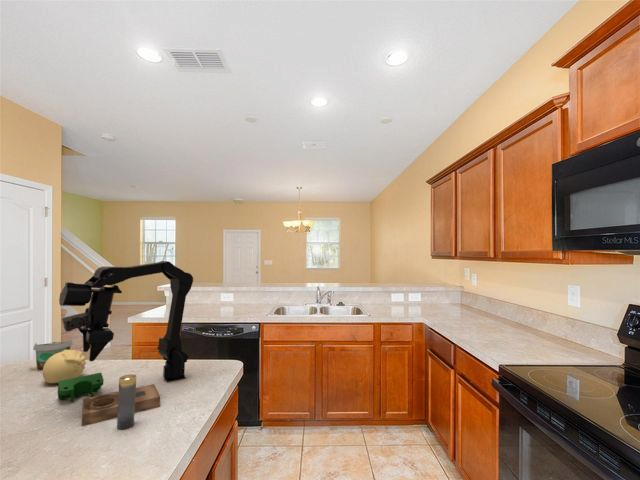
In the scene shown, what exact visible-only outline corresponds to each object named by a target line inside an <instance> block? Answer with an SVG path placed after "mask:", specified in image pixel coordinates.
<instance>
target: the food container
mask: <svg viewBox="0 0 640 480" xmlns="http://www.w3.org/2000/svg"><path fill="white" fill-rule="evenodd" d="M73 345H74V344H73V339H69V340H68V341H65V342H64V341H63V342H59V341H58V342H56V341H55V342H49V343H43V344H41V343H40V344H37V342H35V343H34V345H33V350H34V351H35V359H36V361H35V362H36V370H37V369H38V371H42V370H43V367H44V365H45V363H46V361H47V360H48V359H49V358H50V357H51V356H53V355H54V354H57V353H59V352H62V351H64V350H71V346H73Z"/></svg>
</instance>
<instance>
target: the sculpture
mask: <svg viewBox="0 0 640 480" xmlns="http://www.w3.org/2000/svg"><path fill="white" fill-rule="evenodd" d="M86 363H87V362H86V357H85V355H83V352H82V351H79V350H77V349H70V350H64V351H62V352H59V353H57V354H54V355H53V356H51V357H50V358H49V359H48V360H47V361H46V363H45V365H44V367H43V371H42V377H43V379H44V381H45V382H46V383H48V384H58V383H59V381H62V380H67V379H72V378H77V377H81V375H82V374H83V373H84V370H85V369H86Z"/></svg>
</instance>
